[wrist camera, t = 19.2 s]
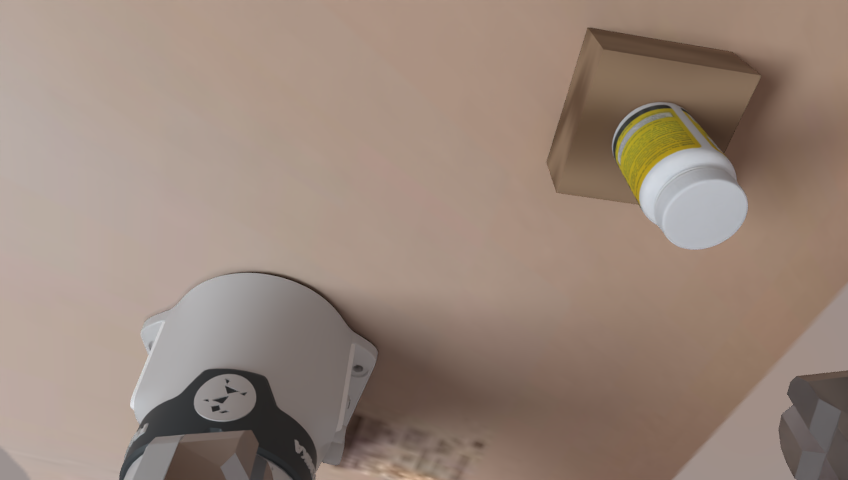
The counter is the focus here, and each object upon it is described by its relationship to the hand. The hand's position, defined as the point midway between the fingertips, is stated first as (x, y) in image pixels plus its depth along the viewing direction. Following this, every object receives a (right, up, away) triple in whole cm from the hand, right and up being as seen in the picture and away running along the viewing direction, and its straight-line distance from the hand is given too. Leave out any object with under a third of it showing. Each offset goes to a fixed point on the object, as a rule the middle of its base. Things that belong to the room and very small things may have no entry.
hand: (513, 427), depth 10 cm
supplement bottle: (+12, +9, +27) cm, 31 cm away
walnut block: (+12, +11, +30) cm, 34 cm away
